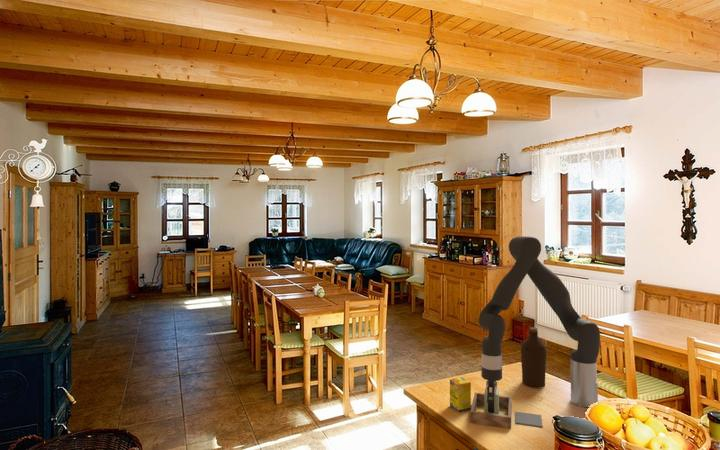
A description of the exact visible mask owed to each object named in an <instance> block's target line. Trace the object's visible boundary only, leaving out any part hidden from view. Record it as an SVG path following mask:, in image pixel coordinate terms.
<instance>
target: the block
mask: <svg viewBox="0 0 720 450" xmlns="http://www.w3.org/2000/svg"><path fill="white" fill-rule="evenodd" d="M486 391H487V388H486V387H485V388H484V404H483V405H484V407H483V408H484V413H489V412H488V403H487V395H486ZM494 393H495V392H494ZM499 395H500V389H498V388H497V390H496V397H495V403H494V413H491V414H498V415H500V406H499ZM489 399H490V400H493V397H489Z"/></svg>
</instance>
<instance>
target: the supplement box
mask: <svg viewBox="0 0 720 450" xmlns="http://www.w3.org/2000/svg"><path fill="white" fill-rule="evenodd" d="M471 383H472V382H471V381H470V380H469V381H468V379H466V378H464V377H463V376H458V377H454V378H450V379H449V406H450V407H451V408H452V409H454V410H456V412H457V413H461V412H465V411H471V407H472V401H471V400H472V399H471V398H472V396H471V395H472V392H471V390H472V389H471V388H472V387H471V386H472V384H471Z"/></svg>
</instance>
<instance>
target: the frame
mask: <svg viewBox="0 0 720 450" xmlns="http://www.w3.org/2000/svg"><path fill="white" fill-rule="evenodd" d="M484 393H485V392H484ZM484 393H482V392H476V391H475V392H474V395H473V399H472V402H471V409H470V415H469V416H470V423H471V424H478V425H484V426H489V427H497V428H504V429H512V411H513V410H512V406H513V405H512V403H513V402H512V401H513V399H512V396H507V395H500V394H499V408H500V407H501V408H508V409H507V410H508V411H507V412H508V415H504V414H499V415H498V414H491V413H485V412H481V411H478V410H477V406H478V404H479V405H484Z"/></svg>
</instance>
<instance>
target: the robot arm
mask: <svg viewBox="0 0 720 450" xmlns="http://www.w3.org/2000/svg"><path fill="white" fill-rule="evenodd" d="M541 243H542V242H540V240H539V239H538V238H536V237H535V236H525V235H524V236H516V237H515V236H514V237H513V238H512V239H510V241H509V243H508V251H509V254H510V255H511V257H512V258H513V259H514V260H515V263H514V264H513V266H512V267H511V269H510V270H509V271H508V272H507V273H506V274H505V276H504V277H503V278H502V279H501V280H500V281H499V283H498V285H497V286H496V288H495V291H494V293H493V295H492V297H491V299H490V300H489V302H487V304H486V305H485V306H484V308H483V309H482V310H481V312H480V313H479V315H478V326H479V327H480V328H482V329H483V330H485V331H487V332H488V335H487V336H485V337H483V338H482V340H481V359H480V360H481V361H480V362H481V370H480V371H481V372H480V373H481V374H480V376H481V378H482V379H484V380H486V382H485V388H487V391H486V395H487V403H488V412H489V413H494V403H495V397H496V390H497V389H498V381H501V380H502V379H503V357H502V342H503V339H504V336H505V335H504V334H505V332H506V321H505V319H504V318H503V316H502V315H501V314H500V313H501V312H504V311H508V310H509V308H510V307H511V304H512V302H513V300H514V298H515V295H516V293H517V291H518V290H519V288H520V286H521V284H522V282H523V281H524V279H525V277H526V276H527V275H528V277H529V279H530V280H531V282H532V283H533V284H534V286H535V287H536V289H537V290H538V292H539V293H540V295H541V296H542V298H544V300H545V301H546V303H547V304H548V305H549V307H550V308H551V310H552V311H553V312H554V314H555V315H556V316H557V318H558V319H559V321H560V322H561V324H562V326H563V328H564V330H565V332H566V333H567V335H568V336H569V337H570V338H571V339H572V340H573V341H576V342H577V348H576V349H574V350H572V351H571V352H570V402H571V403H572V404H574V405H576V406H578V407H583V408H589V407H588V406H590V405H591V404H593V403H596V402H598V399H599V394H598V393H599V392H598V391H599V384H598V381H597V380H598V377H597V376H598V375H597V374H598V371H597V370H598V364H597V363H598V357H599V355H600V354H599V353H600V347H601V346H600V344H601V342H600V341H601V332H600V328H599V326H598V325H597V324H596V323H595V322H592V321H589V320H588V319H584V318H582V317H581V316H580V315H579V314H578V312H577V311H576V310H575V308H574V307H573V305H572V301H571V296H570V292H569V290H568V288H567V287H566V286H565V284H564V283H563V281H562V279H561V278H560V277H559V276H558V275H557V274H556V273H554V272H553V271H552V270H551V269H549V268H548V267H547V266H546V265H544V264H543V263H542V262H541V261H540V260H539V257H540V254H541V252H542V245H541ZM494 392H495V393H494ZM489 397H493V400H490V399H489ZM598 403H599V402H598Z"/></svg>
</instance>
